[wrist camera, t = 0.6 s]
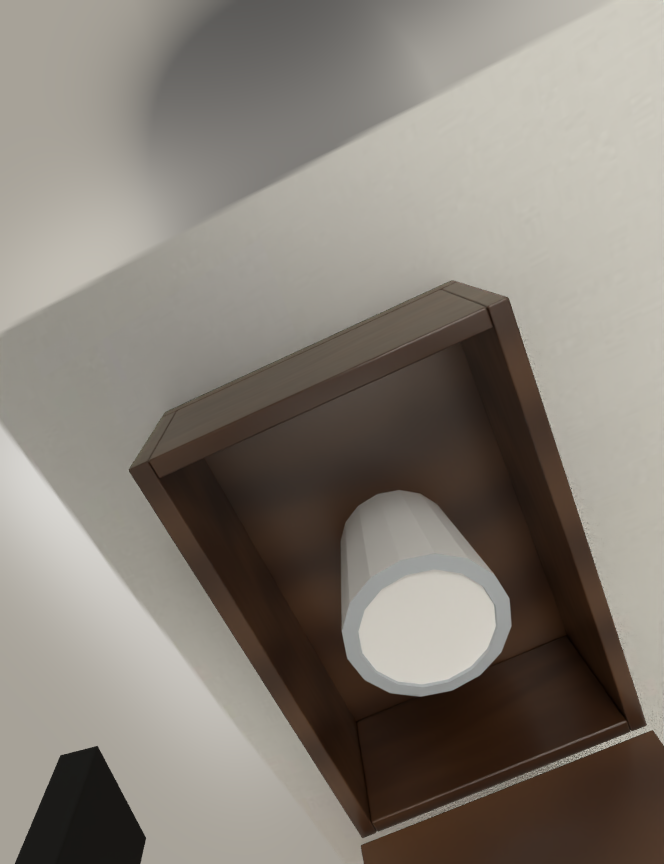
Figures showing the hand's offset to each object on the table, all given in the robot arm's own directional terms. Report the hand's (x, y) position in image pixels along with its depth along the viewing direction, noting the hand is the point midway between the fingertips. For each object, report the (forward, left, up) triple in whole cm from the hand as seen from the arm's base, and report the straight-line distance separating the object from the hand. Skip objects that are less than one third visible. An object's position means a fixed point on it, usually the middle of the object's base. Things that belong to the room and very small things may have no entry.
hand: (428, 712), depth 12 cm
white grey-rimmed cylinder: (+6, 0, -17) cm, 18 cm away
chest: (+6, 0, -17) cm, 18 cm away
